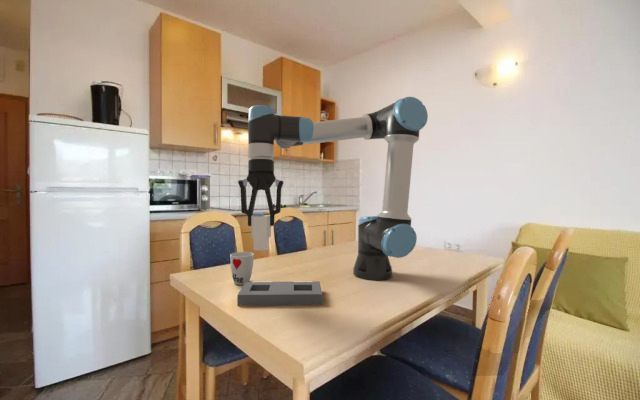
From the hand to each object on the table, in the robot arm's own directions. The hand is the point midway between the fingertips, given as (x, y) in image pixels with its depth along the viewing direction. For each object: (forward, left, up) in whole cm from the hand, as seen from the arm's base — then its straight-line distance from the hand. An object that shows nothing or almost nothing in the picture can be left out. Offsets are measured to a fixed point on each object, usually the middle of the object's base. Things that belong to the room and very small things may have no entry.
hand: (261, 236), depth 89 cm
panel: (-6, 0, -19) cm, 20 cm away
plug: (0, 0, -4) cm, 4 cm away
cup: (+9, -15, -19) cm, 26 cm away
